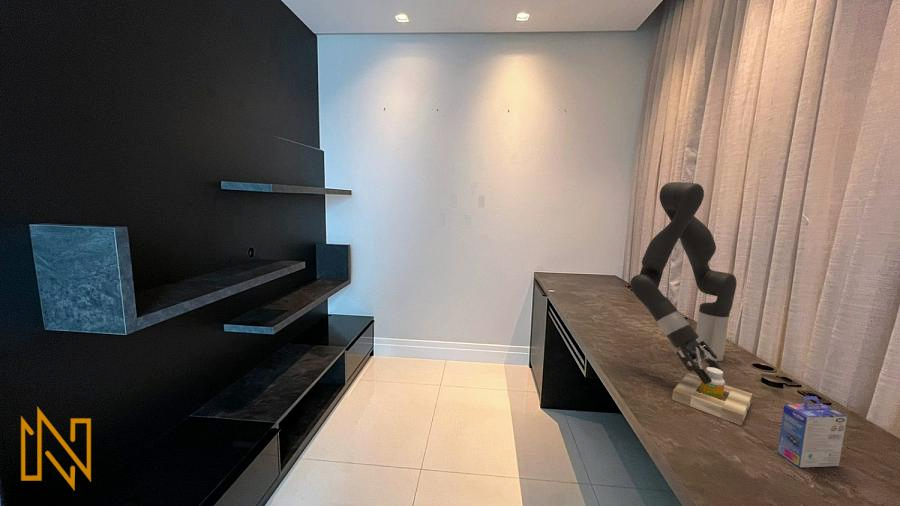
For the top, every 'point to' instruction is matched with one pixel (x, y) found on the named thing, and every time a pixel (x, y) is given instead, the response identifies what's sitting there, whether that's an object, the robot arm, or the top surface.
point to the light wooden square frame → (713, 400)
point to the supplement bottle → (714, 383)
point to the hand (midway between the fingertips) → (715, 379)
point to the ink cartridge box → (812, 434)
